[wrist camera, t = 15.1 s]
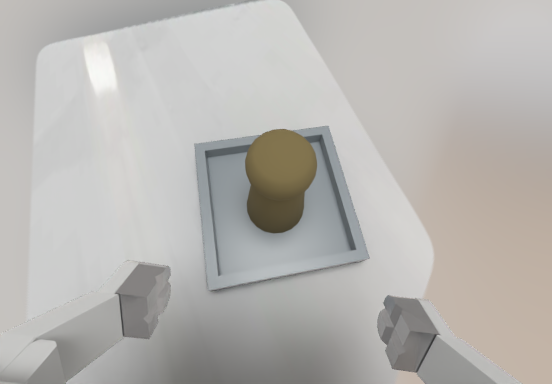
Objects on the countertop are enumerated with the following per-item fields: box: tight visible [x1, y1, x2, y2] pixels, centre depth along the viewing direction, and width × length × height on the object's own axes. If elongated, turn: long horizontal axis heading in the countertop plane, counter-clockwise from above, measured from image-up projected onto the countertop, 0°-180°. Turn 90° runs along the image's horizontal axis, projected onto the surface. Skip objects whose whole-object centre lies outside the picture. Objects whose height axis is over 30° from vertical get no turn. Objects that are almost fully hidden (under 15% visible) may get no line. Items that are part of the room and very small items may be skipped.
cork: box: [245, 129, 317, 234], centre depth 23 cm, size 6×6×11 cm
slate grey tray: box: [194, 126, 370, 291], centre depth 28 cm, size 15×15×2 cm
